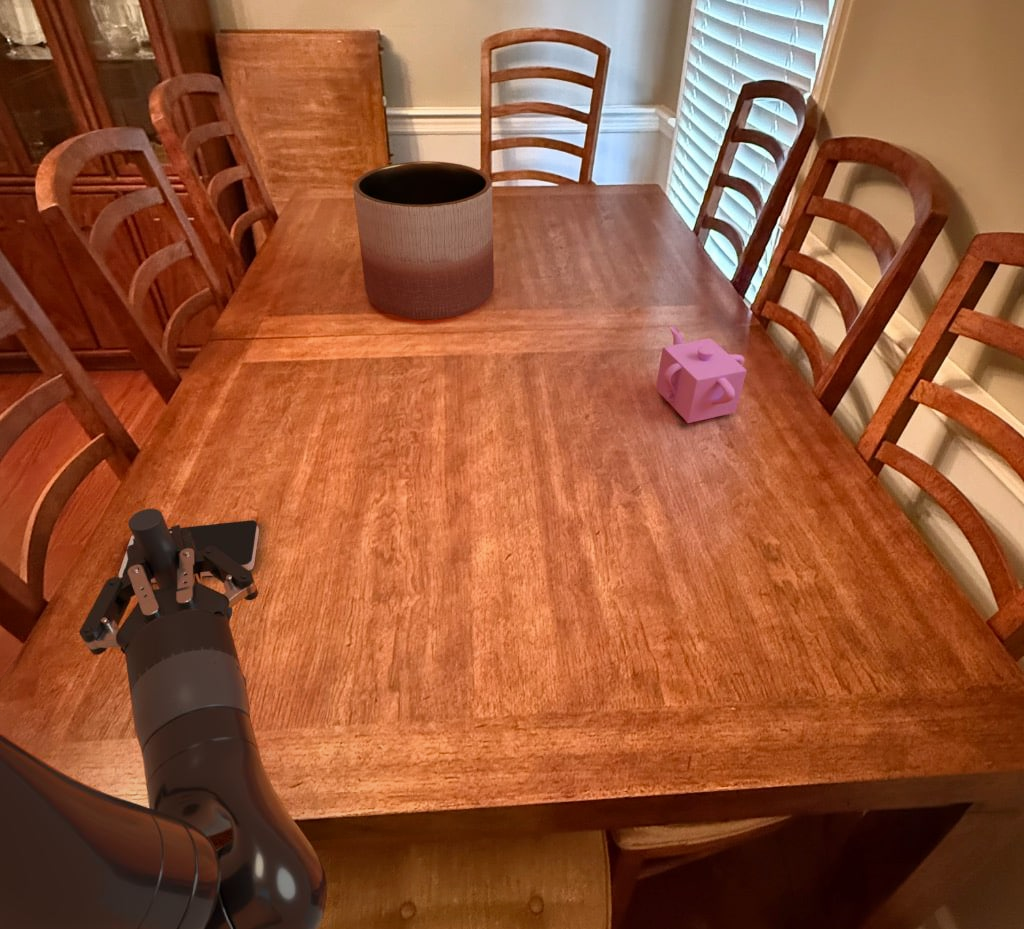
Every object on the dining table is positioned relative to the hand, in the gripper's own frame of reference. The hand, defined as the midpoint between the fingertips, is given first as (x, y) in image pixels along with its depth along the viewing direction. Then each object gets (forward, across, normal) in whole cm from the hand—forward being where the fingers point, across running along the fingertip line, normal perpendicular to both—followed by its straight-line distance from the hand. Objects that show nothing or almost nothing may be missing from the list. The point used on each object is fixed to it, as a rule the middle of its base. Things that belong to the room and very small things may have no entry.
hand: (159, 538), depth 63 cm
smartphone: (+16, 0, +18) cm, 24 cm away
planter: (+67, -54, +18) cm, 88 cm away
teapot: (+14, -77, +18) cm, 80 cm away
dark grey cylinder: (-3, 0, +7) cm, 8 cm away
